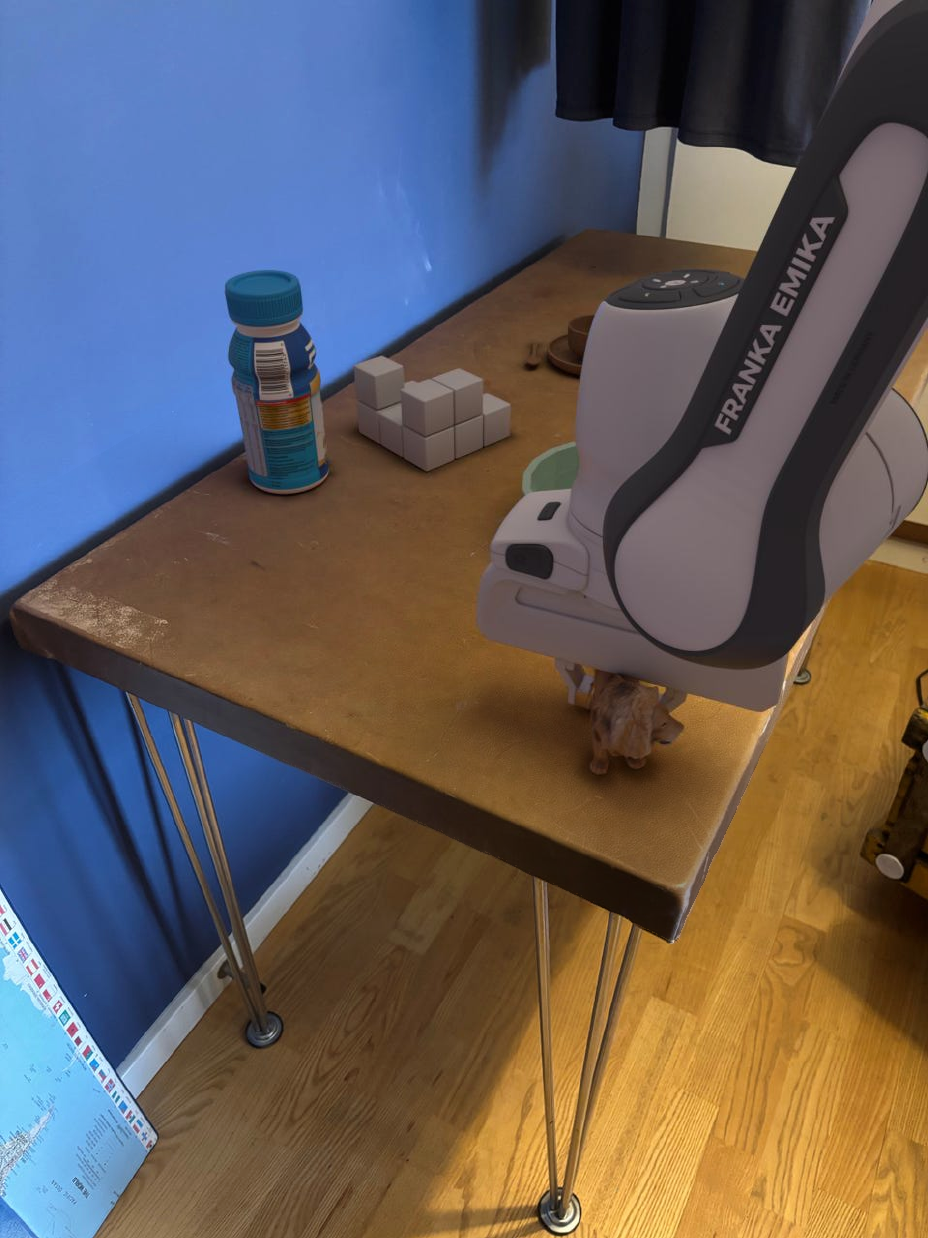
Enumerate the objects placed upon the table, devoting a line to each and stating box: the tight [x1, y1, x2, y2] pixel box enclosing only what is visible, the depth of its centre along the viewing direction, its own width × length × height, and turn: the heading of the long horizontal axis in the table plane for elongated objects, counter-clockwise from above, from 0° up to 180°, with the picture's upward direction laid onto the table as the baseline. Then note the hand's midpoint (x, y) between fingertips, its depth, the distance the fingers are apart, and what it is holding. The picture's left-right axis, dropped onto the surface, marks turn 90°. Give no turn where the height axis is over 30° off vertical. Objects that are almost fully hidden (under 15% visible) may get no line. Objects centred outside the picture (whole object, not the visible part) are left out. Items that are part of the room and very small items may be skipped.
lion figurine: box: [585, 669, 686, 776], centre depth 62 cm, size 15×5×9 cm, turn 3°
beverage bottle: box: [224, 269, 330, 495], centre depth 88 cm, size 8×8×20 cm
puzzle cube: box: [353, 355, 512, 472], centre depth 99 cm, size 12×12×8 cm
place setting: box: [525, 314, 595, 377], centre depth 111 cm, size 18×20×6 cm
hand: (616, 710), depth 64 cm, fingers closed on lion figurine, 4 cm apart
